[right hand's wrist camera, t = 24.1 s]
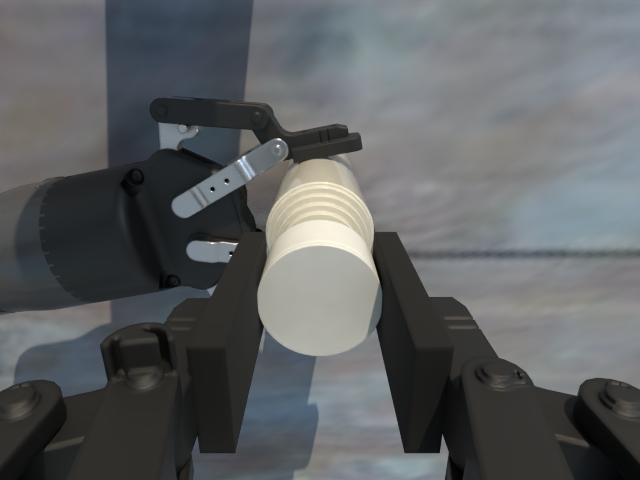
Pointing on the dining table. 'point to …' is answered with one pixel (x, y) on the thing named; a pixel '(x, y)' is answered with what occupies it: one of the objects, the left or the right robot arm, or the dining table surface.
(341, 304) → the cap
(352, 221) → the bottle
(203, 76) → the dining table surface
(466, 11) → the dining table surface
